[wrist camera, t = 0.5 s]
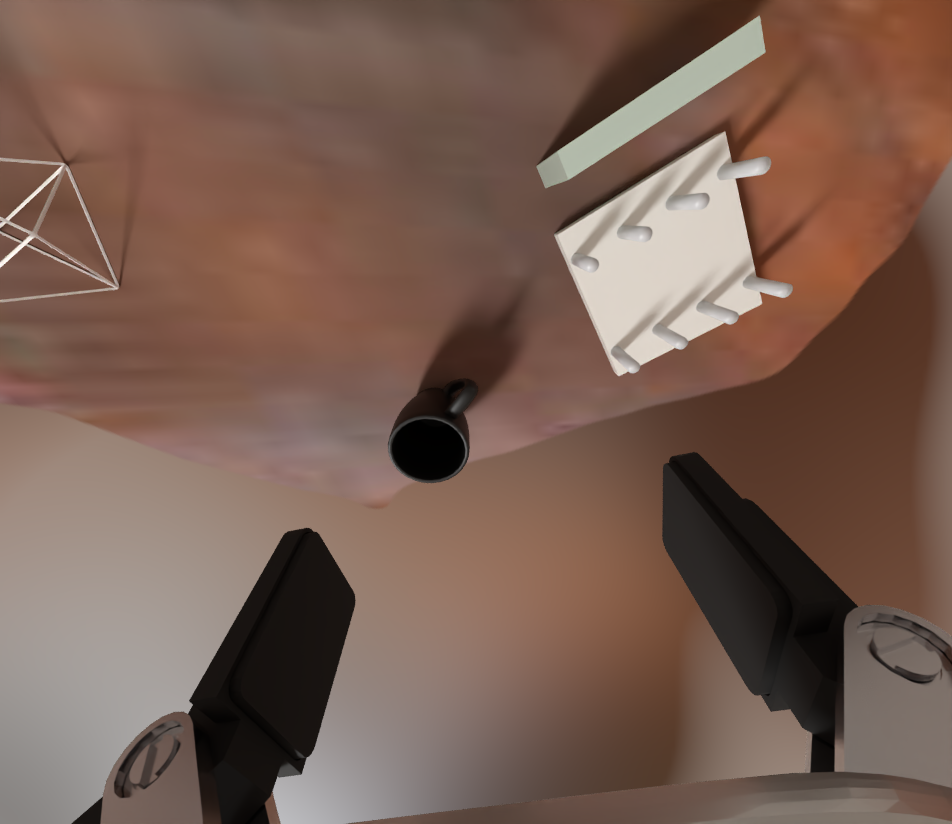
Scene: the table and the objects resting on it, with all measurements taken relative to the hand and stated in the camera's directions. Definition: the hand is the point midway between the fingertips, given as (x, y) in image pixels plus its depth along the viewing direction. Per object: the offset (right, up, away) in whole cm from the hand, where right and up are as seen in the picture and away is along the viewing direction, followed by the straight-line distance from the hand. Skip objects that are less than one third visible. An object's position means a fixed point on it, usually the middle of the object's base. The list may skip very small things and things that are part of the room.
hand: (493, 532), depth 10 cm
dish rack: (+18, +18, +29) cm, 39 cm away
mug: (-4, +5, +35) cm, 36 cm away
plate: (+12, +28, +23) cm, 39 cm away
